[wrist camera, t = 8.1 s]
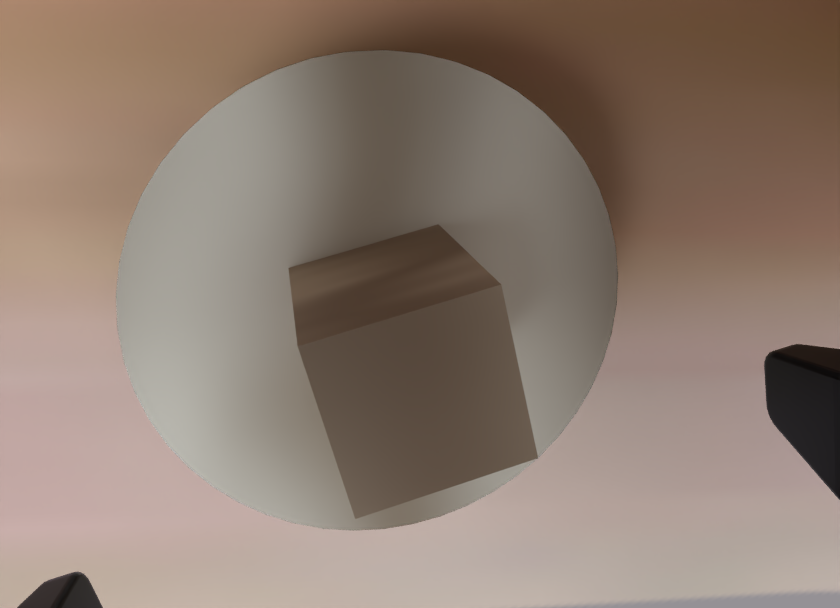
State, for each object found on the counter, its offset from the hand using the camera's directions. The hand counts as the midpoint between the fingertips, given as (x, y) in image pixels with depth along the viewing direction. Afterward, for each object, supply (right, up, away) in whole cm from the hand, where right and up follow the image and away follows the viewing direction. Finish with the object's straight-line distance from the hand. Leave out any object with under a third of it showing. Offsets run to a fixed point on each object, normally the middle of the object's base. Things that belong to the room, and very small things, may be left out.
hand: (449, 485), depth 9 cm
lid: (-1, +2, +6) cm, 6 cm away
